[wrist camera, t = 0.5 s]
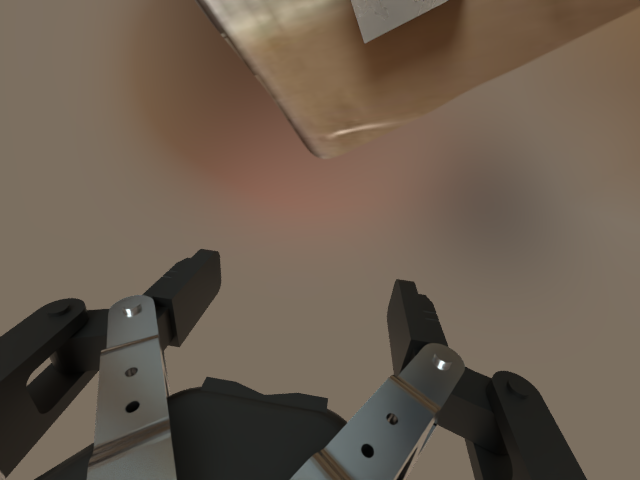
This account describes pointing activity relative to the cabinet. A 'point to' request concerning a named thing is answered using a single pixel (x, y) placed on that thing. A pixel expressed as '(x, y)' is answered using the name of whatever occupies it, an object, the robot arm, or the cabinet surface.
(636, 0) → the cabinet surface
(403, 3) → the chuck block
